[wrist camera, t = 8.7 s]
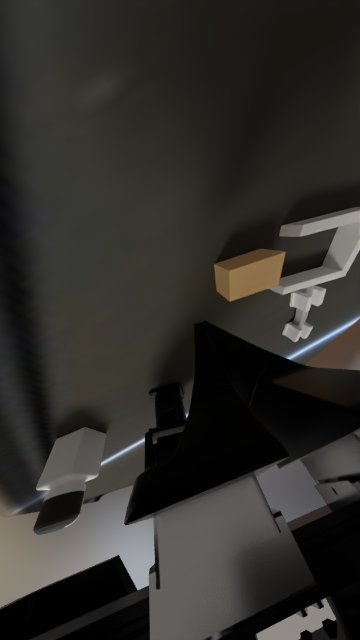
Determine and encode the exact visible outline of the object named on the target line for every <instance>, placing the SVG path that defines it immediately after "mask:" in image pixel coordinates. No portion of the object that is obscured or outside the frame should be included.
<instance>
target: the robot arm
mask: <svg viewBox="0 0 360 640" xmlns="http://www.w3.org/2000/svg"><path fill="white" fill-rule="evenodd" d="M194 338H195V375H194V384H193V391H192V398H191V405H190V410H189V414H188V417H187V418H186V414H185V410H184V405H183V401H182V399H183V398H184V394H183V392H182V389H181V386H180V384H179V383H175V384H172V385H169V386H166V387H163V388H160V389H157V390H154V391H151V392H149V396H150V397H151V399H152V400H153V402H154V403H155V413H156V428H153V429H152V428H150V429H149V432H147V433H146V434H145V472H143V473H142V474H140V475H139V476H138V477H137V478H136V480H135V483H134V487H133V490H132V493H131V497H130V500H129V504H128V507H127V512H126V516H125V522H124V524H125V525H129V524H132V523H136V522H139V521H142V520H146V519H150V518H154V546H155V564H154V565H153V566H152V567H151V568H150V571H149V586H147V587H145V588H142V589H140V590H137V588H136V587H135V585H134V583H133V581H132V579H131V577H130V576H129V573H128V572H127V570H126V568H125V566H124V564H123V562H122V560H121V558H120V556H119V555H118V556H115V557H113V558H111V559H109V560H106V561H104V562H102V563H99V564H97V565H95V566H92V567H90V568H88V569H85V570H83V571H80V572H78V573H76V574H73V575H71V576H69V577H66V578H64V579H62V580H60V581H57V582H55V583H52V584H50V585H48V586H45V587H43V588H41V589H39V590H37V591H35V592H32V593H30V594H28V595H26V596H24V597H22V598H19V599H17V600H15V601H13V602H11V603H9V604H7V605H5V606H3V607H1V608H0V640H258V639H257V635H256V634H257V633H259V632H260V631H263V630H264V629H266V628H268V627H270V626H272V625H274V624H276V623H278V622H280V621H282V620H284V619H286V618H288V617H290V616H292V615H293V614H297V615H299V616H301V617H306V616H307V607H309V606H314V607H316V608H318V609H321V608H323V607H324V605H323V600H322V599H324V598H326V599H327V601H328V603H329V605H330V607H331V609H332V611H333V613H334V615H335V617H336V620H335V621H332V620H330V619H326V620H324V621H322V624H323V627H322V628H320V629H318V630H316V631H314V632H312V633H311V632H309V631H307V630H305V631H303V632H301V633H300V634H301V639H299V640H360V370H346V369H329V368H316V367H310V366H306V365H303V364H300V363H297V362H294V361H292V360H289V359H287V358H284V357H282V356H279V355H277V354H274V353H272V352H269V351H267V350H264V349H262V348H260V347H258V346H256V345H253V344H251V343H249V342H247V341H245V340H243V339H241V338H239V337H237V336H235V335H233V334H231V333H229V332H227V331H225V330H223V329H221V328H219V327H217V326H215V325H213V324H211V323H208V322H206V321H203V322H200V323H197V324H194ZM155 441H157V443H156V444H153V442H155ZM299 460H300V461H301V462H302V464H303V465H304V467H305V468H306V470H307V471H308V473H309V474H310V475H311V477H312V478H313V480H314V481H315V483H316V485H315V487H316V489H317V490H318V492H319V493H320V495H321V496H322V498H323V499H324V501H325V502H326V504H327V505H325V506H323V507H321V508H319V509H316V510H314V511H312V512H310V513H308V514H305V515H303V516H301V517H299V518H297V519H294V520H292V521H290V522H288V523H286V521H285V519H284V517H283V515H282V513H281V512H280V511H279V510H275V509H270V507H269V505H268V502H267V501H266V498H265V496H264V494H263V492H262V489H261V487H260V485H259V483H258V481H257V478H256V476H258V475H260V474H261V473H263V472H265V471H266V470H268V469H270V468H271V467H273V466H275V465H276V464H277V466H278V467H279V469H280V468H282V467H284V466H287V465H290V464H292V463H294V462H297V461H299Z"/></svg>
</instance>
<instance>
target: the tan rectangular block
mask: <svg viewBox="0 0 360 640" xmlns="http://www.w3.org/2000/svg"><path fill="white" fill-rule="evenodd" d="M284 257H285V252H282V251H275V250H268V249H258V250H255V251H252V252H249V253H246V254H243V255H240V256H237V257H234V258H231V259H228V260H225V261H222V262H219V263H216V264H214V267H215V278H216V290H217V292H219V293H220V294H221V295H222V296H223V297H225V298H226V299H227V300H228V301H230V302H231V301H233V300H236V299H239V298H242V297H245V296H248V295H251V294H254V293H257V292H259V291H262V290H265V289H268V288H271V287H274V286H277V285H279V280H280V276H281V271H282V266H283V262H284Z"/></svg>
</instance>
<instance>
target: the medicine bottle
mask: <svg viewBox="0 0 360 640" xmlns="http://www.w3.org/2000/svg"><path fill="white" fill-rule="evenodd" d="M105 438H106V434H105V433H102V432H99V431H96V430H93V429H90V428H87V427H84V428H81V429H79V430H77V431H74V432H72V433H70V434H67V435H65V436H63V437H60V438H58V439H57V440H56V442H55V444H54V446H53V449H52V451H51V454H50V456H49V458H48V461H47V463H46V466H45V468H44V470H43V473H42V475H41V478H40V480H39V482H38V485H37V487H36V490H50V491H49V493H48V494H46V496H45V499H44V502H43V504H42V507H41V510H40V513H39V515H38V518H37V521H36V523H35V526H34V529H33V530H34V532H35V533H36V534H38V535H40V534H46V533H51V532H54V531H57V530H60V529H62V528H64V527H67V526H69V525H71V524H72V523H73V522H74V521H75V520H76V519H77V518H78V517H79V515H80V511H81V506H82V502H83V498H84V494H85V489H86V485H85V482H86V481H89V480H91V479H93V478H96V477H98V475H99V471H100V466H101V460H102V455H103V449H104V444H105Z"/></svg>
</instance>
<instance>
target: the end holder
mask: <svg viewBox="0 0 360 640" xmlns="http://www.w3.org/2000/svg"><path fill="white" fill-rule="evenodd" d="M335 227H338V230H337V232H336V234H335V236H334V239H333V241H332V243H331V246H330V248H329V250H328V253H327V255H326V257H325V260H324V262H323V264H322V266H321V267H318V268H314V269H311V270H307V271H304V272H300V273H297V274H293V275H290V276H286V277H283V278H280V280H279V285H277V286H274V287H271V288H268V289H271V290H273V291H275V292H277V293H279V294H282V295H283V294H287V293H290V292H293V291H297V290H300V289H303V288H307V287H310V286H313V285H317V284H320V283H323V282H327V281H330V280H333V279H337V278H340V277H343V276H345V275H346V273H347V271H348V270H349V268H350V266H351V264H352V262H353V261H354V259H355V257H356V255H357V253H358V252H359V250H360V207H353V208H349V209H345V210H342V211H338V212H334V213H330V214H326V215H322V216H318V217H314V218H310V219H306V220H302V221H298V222H294V223H290V224H286V225H283V226H281V229H280V234H279V236H288V237H301V236H305V235H309V234H312V233H316V232H320V231H324V230H328V229H331V228H335Z"/></svg>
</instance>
